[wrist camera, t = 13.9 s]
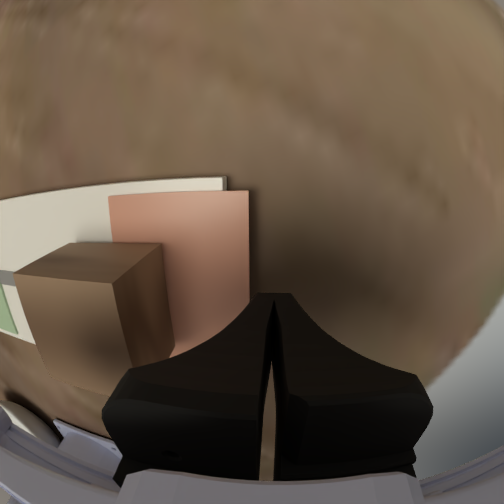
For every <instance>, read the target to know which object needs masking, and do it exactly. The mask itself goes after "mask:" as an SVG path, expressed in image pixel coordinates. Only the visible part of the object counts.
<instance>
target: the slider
mask: <svg viewBox="0 0 504 504" xmlns="http://www.w3.org/2000/svg"><path fill="white" fill-rule="evenodd" d="M13 277H14V281H15V285H16V288H17V292H18V295H19V299H20V302H21V305H22V308H23V311H24V314H25V317H26V320H27V323H28V325H29V328H30V331H31V333H32V336H33V338H34V341H35V343H36V346H37V348H38V351H39V353H40V355H41V357H42V360H43V362H44V364H45V366H46V368H47V371H48V373H49V375H50V377H51V378H53V379H56V380H59V381H62V382H64V383H67V384H70V385H73V386H76V387H79V388H82V389H85V390H89V391H92V392H95V393H99V394H102V395H106V396H109V397H110V396H111V394H112V393H113V391H114V389H115V388H116V386H117V384H118V383H119V381H120V380H121V378H122V377H123V376H124V374H125V373H126V372H127V370H128V369H130V368H135V367H139V366H143V365H147V364H151V363H155V362H159V361H162V360H165V359H168V358H169V357H170V355H171V353H172V351H173V349H174V347H175V340H174V334H173V328H172V322H171V316H170V309H169V303H168V296H167V288H166V280H165V272H164V263H163V254H162V244H161V243H68V244H66V245H64V246H62V247H60V248H58V249H56V250H54V251H52V252H51V253H49V254H47V255H45V256H43V257H41V258H39V259H37V260H35V261H34V262H32V263H30V264H28V265H26V266H24V267H23V268H21V269H19V270H17V271H16V272H14V273H13Z"/></svg>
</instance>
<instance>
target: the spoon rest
mask: <svg viewBox="0 0 504 504" xmlns="http://www.w3.org/2000/svg"><path fill="white" fill-rule="evenodd" d="M0 406H1V407H2V408H3V409H4V410H5V412H6V413H7V414H8V416H9V417H10V419H11V420H12V423H14V424H15V425H17V426H18V427H20V428H22V429H23V430H25V431H27V432H28V433H30V434H32V435H33V436H35V437H37V438H39V439H40V440H42V441H44V442H46V443H48V444H50V445H52V446H54V447H55V448H58V447H59V445H60V444H61V442H60V440H59V438H58V436H57V435H56V434H55V432H54V431H53V430H52V429H51V428H50V427H49V426H48V425H47V424H46V423H45V422H44V421H42V420H41V419H40V418H39V417H38V416H36V415H35V414H34V413H32V412H31V411H29V410H27V409H26V408H24V407H23V406H21V405H18V404H16V403H13V402H10V401H2V400H0Z"/></svg>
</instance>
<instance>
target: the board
mask: <svg viewBox="0 0 504 504" xmlns="http://www.w3.org/2000/svg"><path fill="white" fill-rule="evenodd" d="M68 243H161V244H162V254H163V263H164V272H165V280H166V288H167V296H168V303H169V309H170V316H171V322H172V328H173V334H174V340H175V347H174V349H173V351H172V353H171V355H170V357H169V358H171V357H173V356H176V355H178V354H181V353H183V352H186V351H188V350H190V349H192V348H194V347H196V346H197V345H199V344H201V343H203V342H205V341H207V340H208V339H210V338H212V337H213V336H214V335H216V334H217V333H219V332H220V331H221V330H223V329H224V328H225V327H226V326H227V325H228V324H230V323H231V322H232V321H233V320H234V319H235V318H236V317H237V316H238V315H239V314H240V313H241V312H242V311H243V309H244V308H245V307H246V306H247V305H248V304H249V302H250V281H249V190H230V191H227V176H215V177H187V178H168V179H153V180H140V181H128V182H117V183H108V184H98V185H90V186H82V187H74V188H67V189H60V190H53V191H47V192H41V193H35V194H29V195H23V196H18V197H13V198H8V199H3V200H0V331H1V332H4V333H6V334H9V335H11V336H14V337H17V338H19V339H22V340H25V341H28V342H31V343H33V344H36V343H35V341H34V338H33V336H32V333H31V331H30V328H29V325H28V323H27V320H26V317H25V314H24V311H23V308H22V305H21V302H20V299H19V295H18V292H17V288H16V285H15V281H14V277H13V273H14V272H16V271H17V270H19V269H21V268H23V267H24V266H26V265H28V264H30V263H32V262H34V261H35V260H37V259H39V258H41V257H43V256H45V255H47V254H49V253H51V252H52V251H54V250H56V249H58V248H60V247H62V246H64V245H66V244H68Z"/></svg>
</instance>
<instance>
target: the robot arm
mask: <svg viewBox="0 0 504 504" xmlns="http://www.w3.org/2000/svg"><path fill="white" fill-rule="evenodd" d="M271 361H272V368H273V379H274V390H275V402H276V434H275V458H274V477H273V481H259V471H260V457H261V442H262V427H263V413H264V404H265V398H266V393H267V387H268V380H269V374H270V368H271ZM432 415H433V405H432V403H431V401H430V399H429V397H428V395H427V393H426V391H425V388H424V387H423V385H422V383H421V382H420V380H419V378H418V377H417V376H416V375H415V374H412V373H408V372H405V371H401V370H398V369H394V368H391V367H388V366H385V365H383V364H380V363H378V362H375V361H373V360H370V359H368V358H366V357H364V356H362V355H360V354H358V353H356V352H354V351H353V350H351V349H349V348H347V347H346V346H344V345H342V344H341V343H339V342H338V341H337V340H335V339H334V338H332V337H331V336H330V335H328V334H327V333H326V332H325V331H323V330H322V329H321V328H320V327H319V326H318V325H317V324H316V323H315V322H314V321H313V320H312V319H311V318H310V317H309V316H308V315H307V313H306V312H305V311H304V310H303V309H302V308H301V306H300V305H299V304H298V302H297V301H296V300H295V298H294V297H293V296H292V294H291V293H257V294H256V295H255V296H254V297H253V298H252V300H251V301H250V302H249V304H248V305H247V306H246V307H245V308H244V309H243V311H242V312H241V313H240V314H239V315H238V316H237V317H236V318H235V319H234V320H233V321H232V322H231V323H230V324H228V325H227V326H226V327H225V328H224V329H223V330H221V331H220V332H219V333H217V334H216V335H214V336H213V337H212V338H210V339H208V340H207V341H205V342H203V343H201V344H199V345H197V346H196V347H194V348H192V349H190V350H188V351H186V352H183V353H181V354H178V355H176V356H173V357H171V358H168V359H165V360H162V361H159V362H155V363H151V364H147V365H143V366H139V367H135V368H130V369H128V370H127V372H126V373H125V374H124V376H123V377H122V378H121V380H120V381H119V383H118V384H117V386H116V388H115V389H114V391H113V393H112V394H111V396H110V397H109V399H108V401H107V402H106V404H105V406H104V407H103V409H102V420H103V422H104V425H105V427H106V430H107V431H108V433H109V435H110V436H111V438H112V440H113V441H112V440H109V439H106V438H103V437H100V436H97V435H94V434H92V433H89V432H86V431H84V430H81V429H78V428H76V427H74V426H71V425H69V424H66V423H64V422H62V421H59V420H57V419H54V421H53V422H54V424H55V426H56V427H57V428H58V430H59V431H60V433H61V434H62V436H63V437H64V439H63V441H62V442H61V444H60V445H59V447H58V448H55V447H54V446H52V445H50V444H48V443H46V442H44V441H42V440H40V439H39V438H37V437H35V436H33V435H32V434H30V433H28V432H27V431H25V430H23V429H22V428H20V427H18V426H17V425H15V424H14V423H12V420H11V419H10V417H9V416H8V414H7V413H6V412H5V410H4V409H3V408H2V407H1V406H0V487H1V488H2V489H4V490H5V491H6V492H7V493H9V494H10V495H11V498H10V499H9V501H8V502H7V504H504V445H503V446H501V447H499V448H498V449H496V450H494V451H492V452H490V453H488V454H486V455H484V456H481V457H479V458H477V459H475V460H473V461H471V462H468V463H466V464H464V465H461V466H459V467H456V468H454V469H451V470H448V471H446V472H443V473H440V474H438V475H434V476H432V477H428V478H425V479H422V480H418V479H417V478H416V475H415V471H414V468H413V465H412V464H413V463H415V461H416V455H415V453H414V450H413V447H414V446H415V444H416V443H417V441H418V440H419V438H420V437H421V435H422V434H423V432H424V431H425V429H426V428H427V426H428V424H429V422H430V420H431V417H432Z"/></svg>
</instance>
